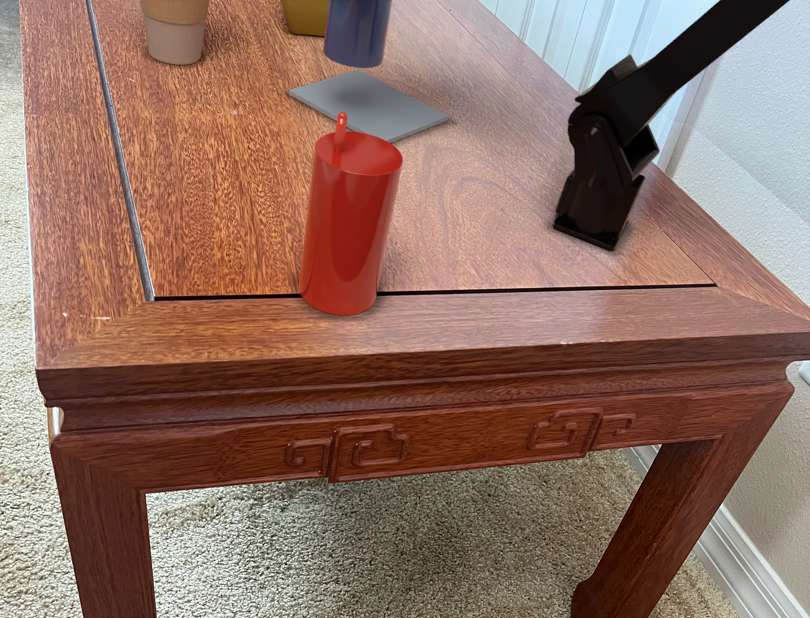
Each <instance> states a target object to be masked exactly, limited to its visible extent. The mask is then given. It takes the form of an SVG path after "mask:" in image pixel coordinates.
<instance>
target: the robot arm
mask: <svg viewBox="0 0 810 618" xmlns="http://www.w3.org/2000/svg"><path fill="white" fill-rule="evenodd" d="M789 2H791V0H719V1H717V2H715V4H713V5H712V6H711V7H710V8H709V9H707V11H705V12H704V13H703V14H702V15H701V16H699V18H697V19H696V20H695V21H693V23H692V24H690V25H689V26H688V27H687V28H686V29H685V30H683V31H682V32H681V33H680V34H679V35H677V36H676V37H675V38H674V39H673V40H672V41H671V42H669V43H668V44H667V45H666V46H665V47H664V48H662V49H661V50H660V51H659V52H658V53H656V54H655V55H654V56H653V57H652V58H649V59H648V60H647V61H645V62H643V63H641V64H640V65H637V63H636V62H635V60H634V58H633V55H632V54H627V56H625V57H623V58H622V59H620V60H619V61H618V62H617V63H615V64H614V65H612V66H611V67H609V68H608V69H607V70H606V71H605V72H604V73H603V74H602V76H601V77H600V78H599V79H598V80H597V82H595V83H594V84H592V85H591V86H590V87H588V88H587V89H585V90H584V91H583V92H581V93H580V94H578V95H577V96H576V97H574V102H575V103H578V105H577V106H576V107H575V108H574V109H573V110H572V111H571V113H570V115H569V117H568V118H567V137H568V140H569V143H570V145H571V146H572V148H573V159H574V161H573V165H574V166H573V167H574V168H572V170H571V171H570V173H569V174H568V175H567V177H566V179H565V180H564V181H565V182H564V184H563V187H562V190H561V192H560V195H559V199H558V200H557V201H558V202H557V204H556V207H555V210H554V211H555V214H557V217H556V218H555V219H554V220H553V223H552V227H553V228H555V229H557V230H559V231H562V232H564V233H567V234H569V235H571V236H574V237H576V238H579V239H582V240H584V241H587V242H589V243H592V244H594V245H597V246H599V247H601V248H604V249H607V250H609V251H614V250H615V249H616V248H617V245H618V244H619V242H620V240H621V239H622V236H623V235H624V233H625V231H626V229H627V227H628V225H629V223H630V221H629V218H630V216H631V213H632V211H633V209H634V206H635V204H636V201H637V199H638V197H639V195H640V193H641V189H642V187H643V184H644V182H645V180H646V176H645V175H643V174H642V172H643V171H644V170H645V169H646V168H647V167H648V166H649V165H650V164H651V163H652V162H653V161H654V160H655V159H656V157H657V156H658V155H659V154H660V151H661V150H660V148H659V145H658V143H657V140H656V138H655V136H654V133H653V131H652V128H651V126H650V123H651V122H652V121H653V120H654V119H655V118H656V117H657V116H658V114H659V113H660V112H661V111H662V110H663V108H664V107H665V106H666V105H667V104H668V103H669V101H670V100H671V99H672V98H673V96H674V95H675V94H676V93H677V92H678V91H679V90H680V89H682V88H683V87H684V86H685V85H687V84H688V83H689V82H690V81H692V80H693V79H694V78H695V77H696V76H698V75H699V74H700V73H702V72H703V71H704V70H705V69H707V68H708V67H710V65H712V64H713V63H714V62H715V61H717V60H718V59H719V58H720V57H722V56H723V55H724V54H725V53H727V52H728V51H729V50H730V49H731V48H732V47H734V46H735V45H736V44H738V43H739V42H741V40H743V39H745V37H746V36H748V35H749V34H750V33H751V32H753V31H754V30H755V29H757V28H758V27H759V26H760V25H762V23H764V22H765V21H766V20H767V19H769V18H770V17H771V16H772V15H774V14H775V13H777V12H778V11H779V10H780V9H781V8H783V7H784V6H785V5H786V4H788V3H789Z"/></svg>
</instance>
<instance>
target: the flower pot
mask: <svg viewBox="0 0 810 618" xmlns="http://www.w3.org/2000/svg"><path fill="white" fill-rule="evenodd" d="M279 1H280V4H281V7H282V10H283V13H284V16H285V18H286V22H287V25H288V27H289V30H290V32H291V33H292V34H295V35H309V36H311V35H312V36H321V37H325V28H326V19H327V10H328V0H279Z"/></svg>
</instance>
